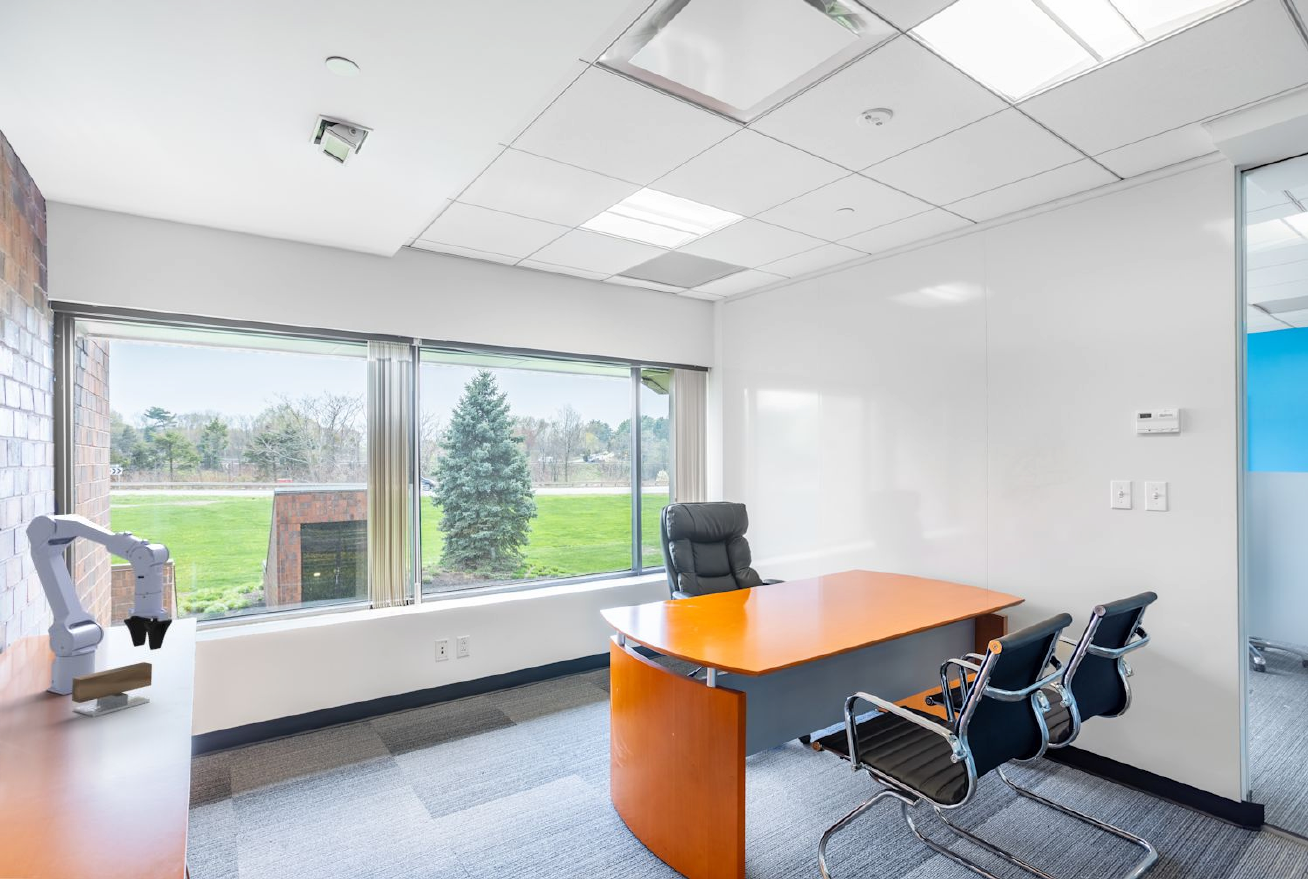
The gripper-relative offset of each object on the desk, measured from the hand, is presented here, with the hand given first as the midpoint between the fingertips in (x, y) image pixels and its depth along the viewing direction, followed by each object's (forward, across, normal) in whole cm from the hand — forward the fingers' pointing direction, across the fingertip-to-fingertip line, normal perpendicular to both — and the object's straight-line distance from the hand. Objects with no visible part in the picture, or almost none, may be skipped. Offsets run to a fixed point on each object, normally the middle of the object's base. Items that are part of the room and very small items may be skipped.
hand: (147, 647), depth 169 cm
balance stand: (+10, +8, -11) cm, 17 cm away
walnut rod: (+7, +8, -11) cm, 15 cm away
